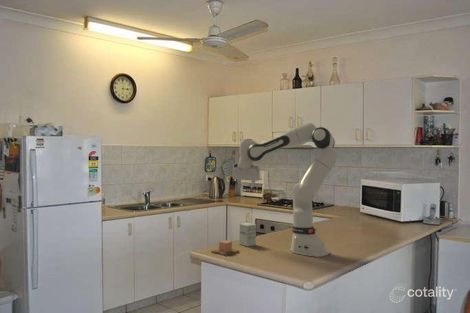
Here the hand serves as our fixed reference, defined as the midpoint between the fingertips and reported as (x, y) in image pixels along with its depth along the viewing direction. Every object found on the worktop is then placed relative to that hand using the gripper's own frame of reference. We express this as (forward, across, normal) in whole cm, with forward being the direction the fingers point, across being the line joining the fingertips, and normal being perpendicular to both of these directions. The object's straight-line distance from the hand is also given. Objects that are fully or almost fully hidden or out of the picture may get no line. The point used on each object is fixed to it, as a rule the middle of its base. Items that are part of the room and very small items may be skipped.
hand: (245, 187), depth 255 cm
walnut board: (+34, -9, +28) cm, 45 cm away
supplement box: (+34, -6, +5) cm, 35 cm away
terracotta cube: (+33, -9, +28) cm, 44 cm away
